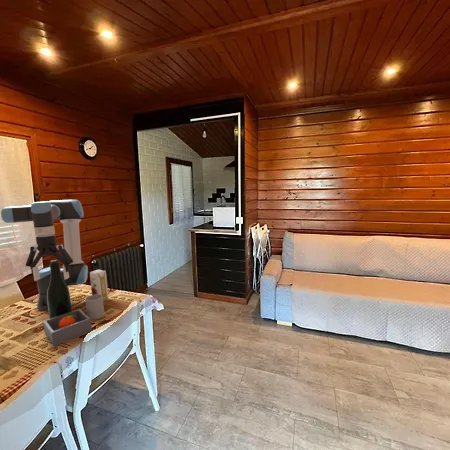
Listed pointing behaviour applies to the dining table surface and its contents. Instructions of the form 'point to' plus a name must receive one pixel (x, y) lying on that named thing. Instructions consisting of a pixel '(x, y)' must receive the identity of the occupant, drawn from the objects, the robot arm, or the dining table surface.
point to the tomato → (66, 321)
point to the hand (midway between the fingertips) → (52, 279)
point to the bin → (67, 327)
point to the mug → (94, 306)
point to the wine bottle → (57, 292)
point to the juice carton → (99, 283)
